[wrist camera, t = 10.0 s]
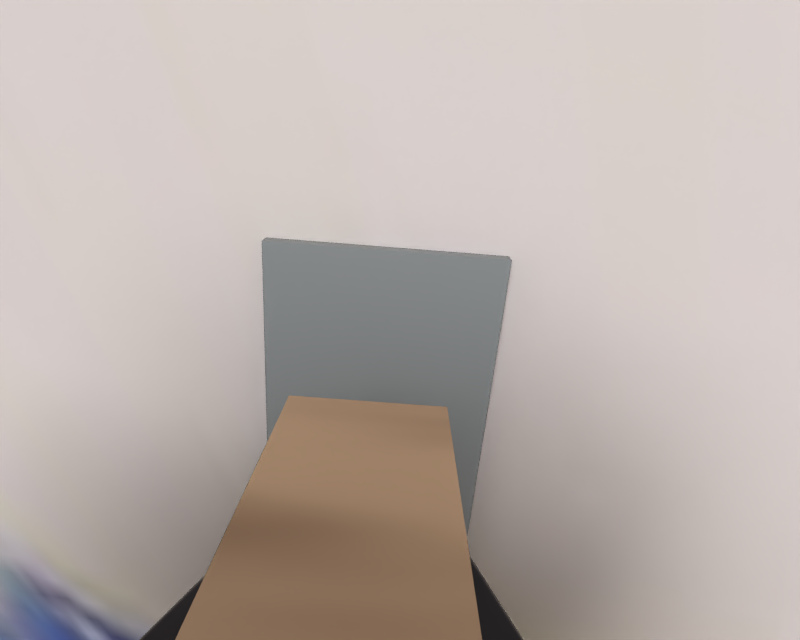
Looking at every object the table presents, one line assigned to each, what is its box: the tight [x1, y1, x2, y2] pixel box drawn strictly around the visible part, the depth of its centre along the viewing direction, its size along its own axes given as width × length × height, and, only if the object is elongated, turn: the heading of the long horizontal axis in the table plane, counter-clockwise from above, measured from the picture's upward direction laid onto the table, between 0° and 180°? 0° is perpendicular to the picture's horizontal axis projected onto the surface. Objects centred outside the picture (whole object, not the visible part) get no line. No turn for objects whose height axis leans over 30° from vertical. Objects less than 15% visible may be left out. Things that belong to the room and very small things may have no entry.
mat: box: [262, 238, 512, 535], centre depth 15 cm, size 16×6×1 cm, turn 176°
